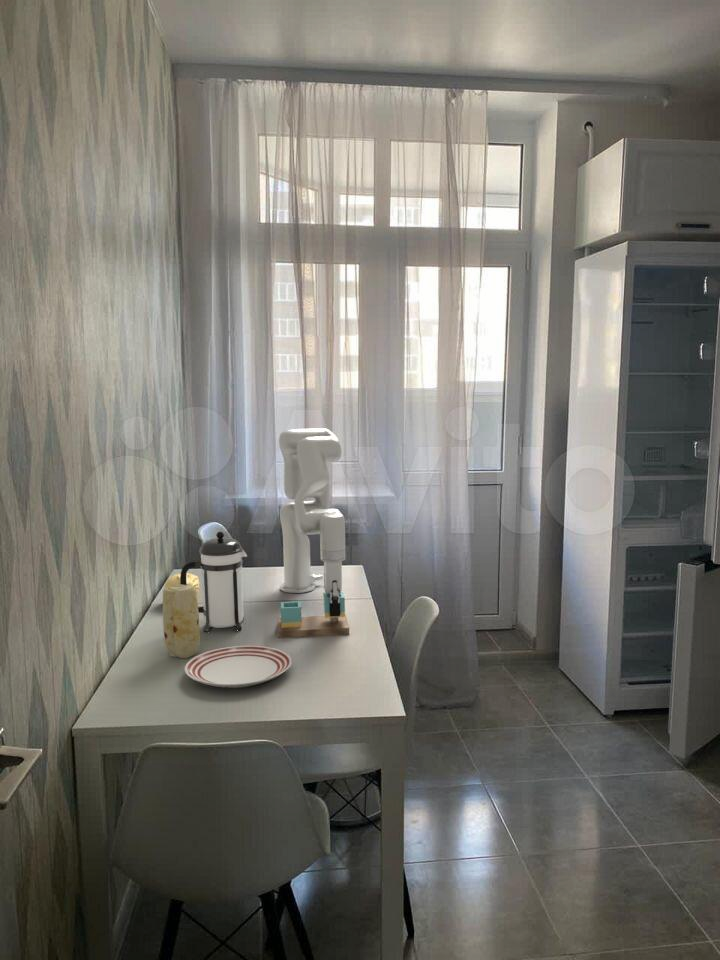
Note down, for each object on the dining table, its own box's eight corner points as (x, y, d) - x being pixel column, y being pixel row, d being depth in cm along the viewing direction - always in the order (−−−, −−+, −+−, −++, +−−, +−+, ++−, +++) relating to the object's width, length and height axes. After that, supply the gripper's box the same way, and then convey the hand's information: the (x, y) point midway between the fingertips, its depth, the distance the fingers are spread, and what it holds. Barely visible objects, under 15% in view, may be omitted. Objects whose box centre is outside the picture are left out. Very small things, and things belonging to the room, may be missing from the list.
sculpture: (196, 608, 249) (194, 577, 247) (160, 609, 249) (158, 577, 247) (204, 598, 260) (202, 568, 258) (169, 598, 260) (168, 568, 259)
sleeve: (343, 610, 230) (342, 591, 229) (344, 616, 224) (344, 597, 223) (323, 611, 230) (323, 592, 229) (325, 617, 224) (324, 598, 223)
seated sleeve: (301, 620, 229) (300, 601, 228) (301, 626, 223) (301, 607, 223) (281, 621, 229) (280, 602, 228) (281, 627, 223) (280, 608, 222)
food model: (201, 649, 212) (197, 581, 209) (200, 658, 205) (197, 587, 202) (165, 652, 210) (161, 583, 207) (163, 661, 204) (159, 590, 201)
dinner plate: (199, 654, 209) (198, 643, 208) (297, 654, 208) (296, 642, 207) (172, 697, 181) (171, 684, 181) (284, 697, 181) (284, 684, 180)
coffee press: (228, 614, 242) (224, 523, 237) (258, 626, 230) (254, 531, 226) (181, 628, 230) (176, 532, 225) (210, 641, 218) (205, 540, 214)
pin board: (345, 620, 234) (345, 599, 233) (349, 634, 222) (348, 611, 221) (278, 624, 232) (277, 602, 231) (278, 637, 220) (277, 614, 219)
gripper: (319, 548, 232) (320, 604, 235) (322, 562, 215) (323, 622, 218) (343, 547, 233) (344, 603, 236) (347, 561, 216) (349, 620, 219)
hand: (334, 611), depth 227 cm, fingers closed on sleeve, 6 cm apart
